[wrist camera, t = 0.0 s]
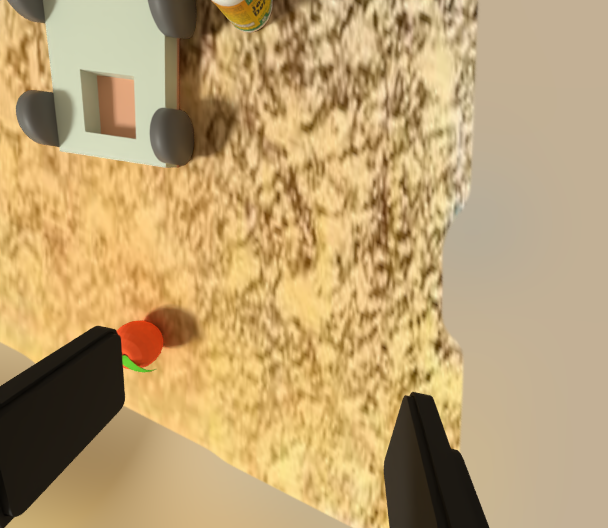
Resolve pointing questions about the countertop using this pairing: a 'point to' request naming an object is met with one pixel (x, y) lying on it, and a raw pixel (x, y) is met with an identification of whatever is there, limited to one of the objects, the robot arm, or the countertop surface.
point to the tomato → (140, 344)
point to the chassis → (111, 79)
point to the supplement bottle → (246, 13)
